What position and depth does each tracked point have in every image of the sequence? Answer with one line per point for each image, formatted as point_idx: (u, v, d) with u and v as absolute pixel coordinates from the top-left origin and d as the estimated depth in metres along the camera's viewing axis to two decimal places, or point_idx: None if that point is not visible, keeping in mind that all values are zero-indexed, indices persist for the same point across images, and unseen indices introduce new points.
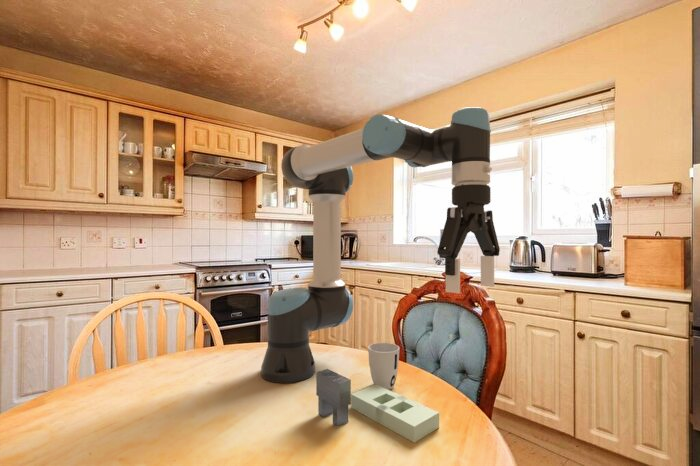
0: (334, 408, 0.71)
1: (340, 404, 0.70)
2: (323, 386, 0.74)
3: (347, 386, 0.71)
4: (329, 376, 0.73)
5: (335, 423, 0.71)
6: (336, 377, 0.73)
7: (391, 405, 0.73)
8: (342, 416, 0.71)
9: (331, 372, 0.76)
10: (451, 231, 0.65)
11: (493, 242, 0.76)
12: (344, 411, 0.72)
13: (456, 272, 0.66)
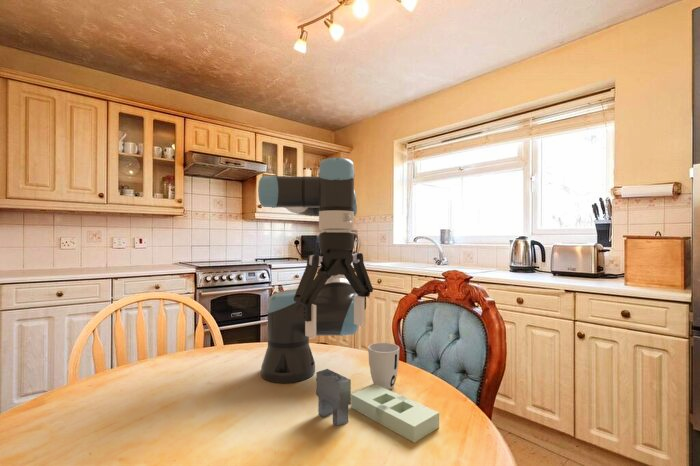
0: (334, 408, 0.71)
1: (340, 404, 0.70)
2: (323, 386, 0.74)
3: (347, 386, 0.71)
4: (329, 376, 0.73)
5: (335, 423, 0.71)
6: (336, 377, 0.73)
7: (391, 405, 0.73)
8: (342, 416, 0.71)
9: (331, 372, 0.76)
10: (306, 279, 0.68)
11: (365, 283, 0.79)
12: (344, 411, 0.72)
13: (312, 318, 0.69)
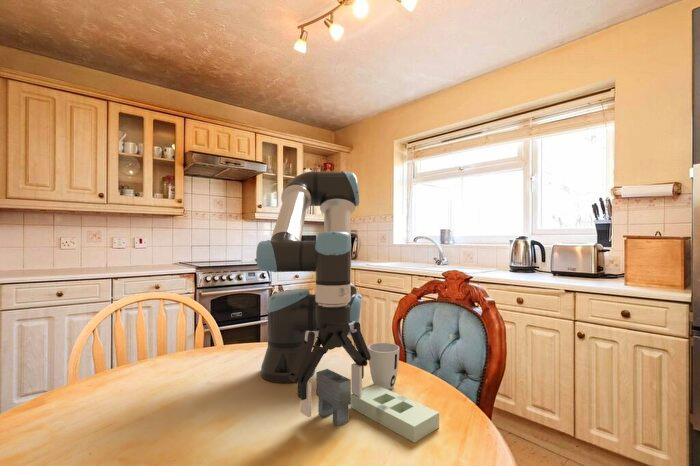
0: (334, 408, 0.71)
1: (340, 404, 0.70)
2: (323, 386, 0.74)
3: (347, 386, 0.71)
4: (329, 376, 0.73)
5: (335, 423, 0.71)
6: (336, 377, 0.73)
7: (391, 405, 0.73)
8: (342, 416, 0.71)
9: (331, 372, 0.76)
10: (301, 357, 0.68)
11: (363, 351, 0.79)
12: (344, 411, 0.72)
13: (307, 396, 0.68)
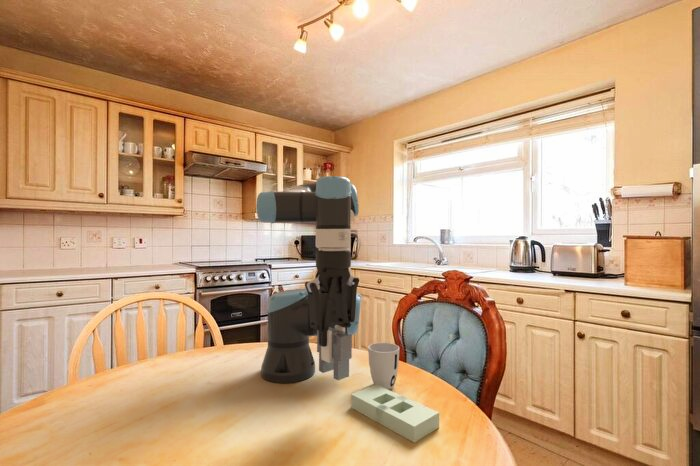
0: (335, 362, 0.72)
1: (341, 357, 0.70)
2: None
3: (348, 340, 0.72)
4: None
5: (336, 377, 0.71)
6: (337, 332, 0.74)
7: (391, 405, 0.73)
8: (343, 370, 0.72)
9: (332, 329, 0.76)
10: (314, 308, 0.70)
11: (350, 309, 0.77)
12: (345, 365, 0.72)
13: (327, 343, 0.72)
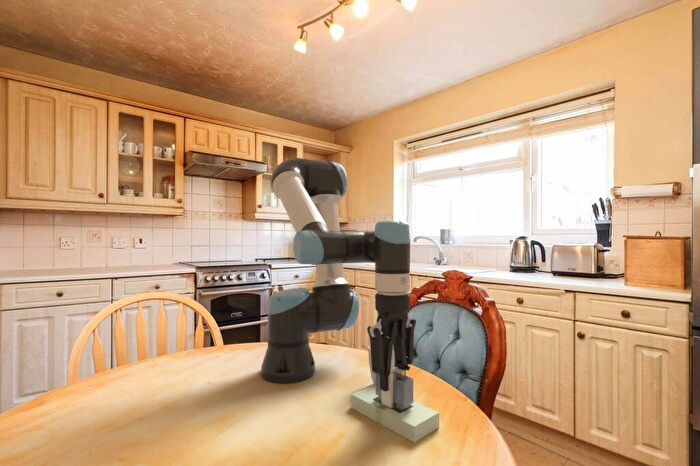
0: (397, 407, 0.71)
1: (404, 403, 0.70)
2: None
3: (410, 385, 0.72)
4: None
5: None
6: (397, 376, 0.74)
7: None
8: None
9: (390, 371, 0.76)
10: (377, 353, 0.70)
11: (408, 351, 0.77)
12: None
13: (389, 388, 0.72)
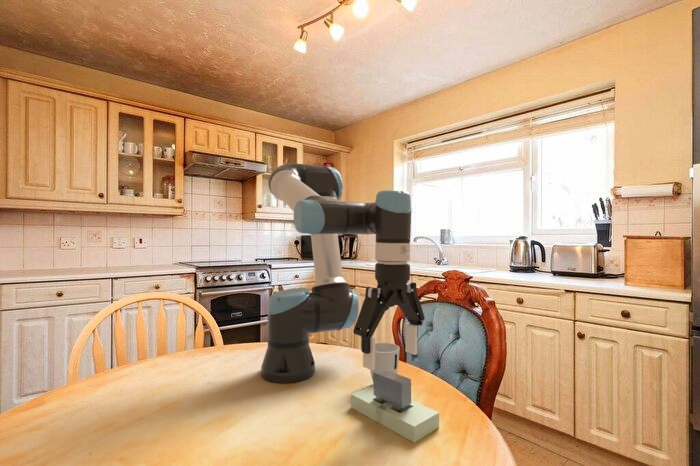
0: (395, 408, 0.71)
1: (402, 404, 0.70)
2: (381, 385, 0.74)
3: (408, 386, 0.72)
4: (388, 376, 0.74)
5: None
6: (395, 376, 0.74)
7: (391, 405, 0.73)
8: None
9: (388, 372, 0.76)
10: (366, 312, 0.69)
11: (417, 311, 0.80)
12: (405, 410, 0.72)
13: (371, 350, 0.70)
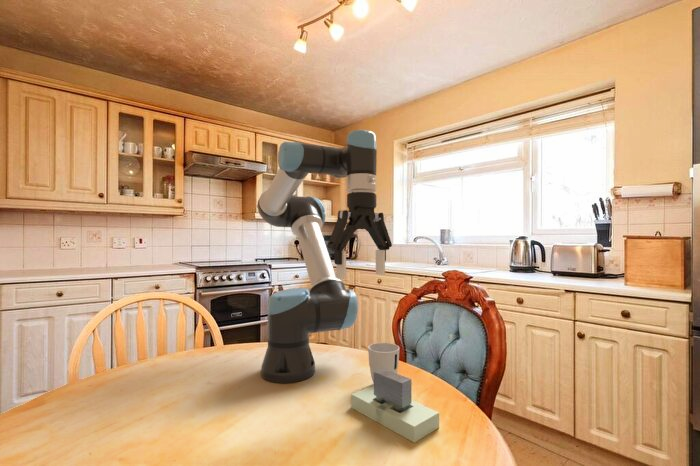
0: (396, 407, 0.71)
1: (403, 403, 0.70)
2: (381, 385, 0.74)
3: (408, 386, 0.72)
4: (389, 376, 0.74)
5: None
6: (395, 376, 0.74)
7: (391, 405, 0.73)
8: None
9: (388, 372, 0.76)
10: (338, 229, 0.82)
11: (385, 238, 0.93)
12: (405, 410, 0.72)
13: (342, 262, 0.83)
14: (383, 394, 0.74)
